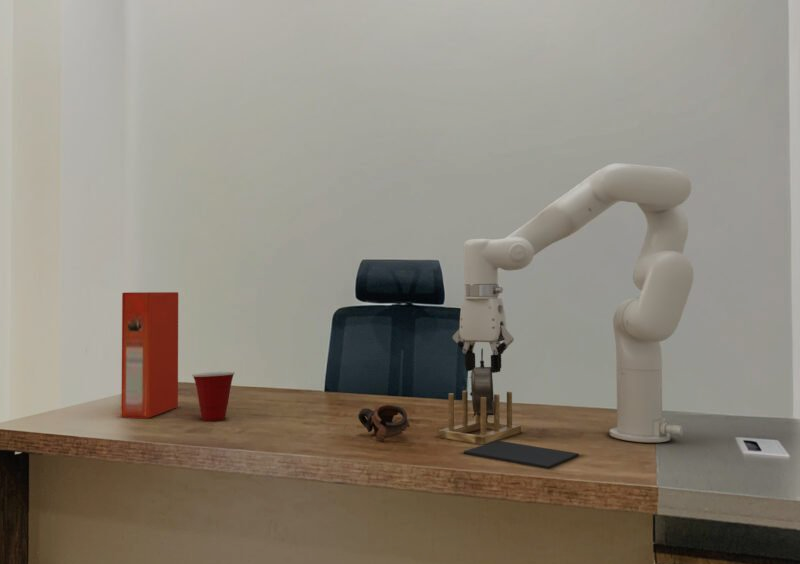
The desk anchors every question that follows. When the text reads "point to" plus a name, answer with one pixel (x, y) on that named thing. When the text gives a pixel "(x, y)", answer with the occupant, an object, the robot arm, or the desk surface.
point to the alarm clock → (482, 388)
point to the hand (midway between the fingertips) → (483, 370)
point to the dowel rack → (480, 422)
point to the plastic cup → (213, 394)
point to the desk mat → (522, 454)
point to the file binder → (149, 353)
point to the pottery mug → (384, 420)
